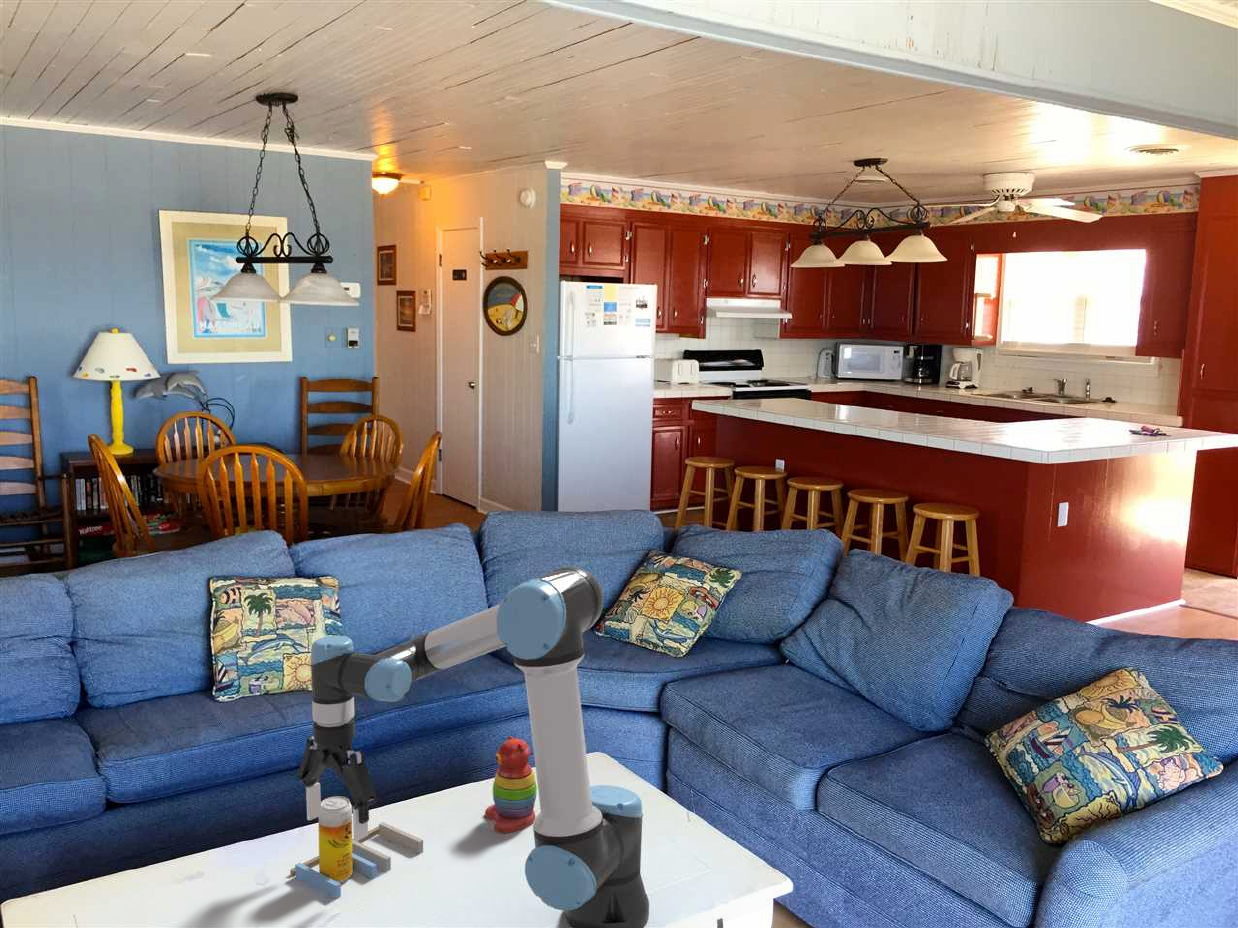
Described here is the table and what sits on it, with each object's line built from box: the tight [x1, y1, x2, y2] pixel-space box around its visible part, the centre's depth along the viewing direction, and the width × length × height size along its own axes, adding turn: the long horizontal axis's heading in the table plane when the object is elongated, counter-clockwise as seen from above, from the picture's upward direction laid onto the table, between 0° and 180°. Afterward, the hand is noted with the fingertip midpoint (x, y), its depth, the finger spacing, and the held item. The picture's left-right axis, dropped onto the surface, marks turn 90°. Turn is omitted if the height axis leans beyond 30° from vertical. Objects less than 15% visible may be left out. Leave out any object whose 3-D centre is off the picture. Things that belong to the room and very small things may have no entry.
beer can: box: [318, 796, 354, 884], centre depth 191 cm, size 6×6×15 cm
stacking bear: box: [484, 735, 538, 834], centre depth 215 cm, size 11×10×18 cm
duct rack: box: [290, 821, 424, 900], centre depth 197 cm, size 14×22×2 cm, turn 144°
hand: (337, 827), depth 191 cm, fingers open, 13 cm apart
